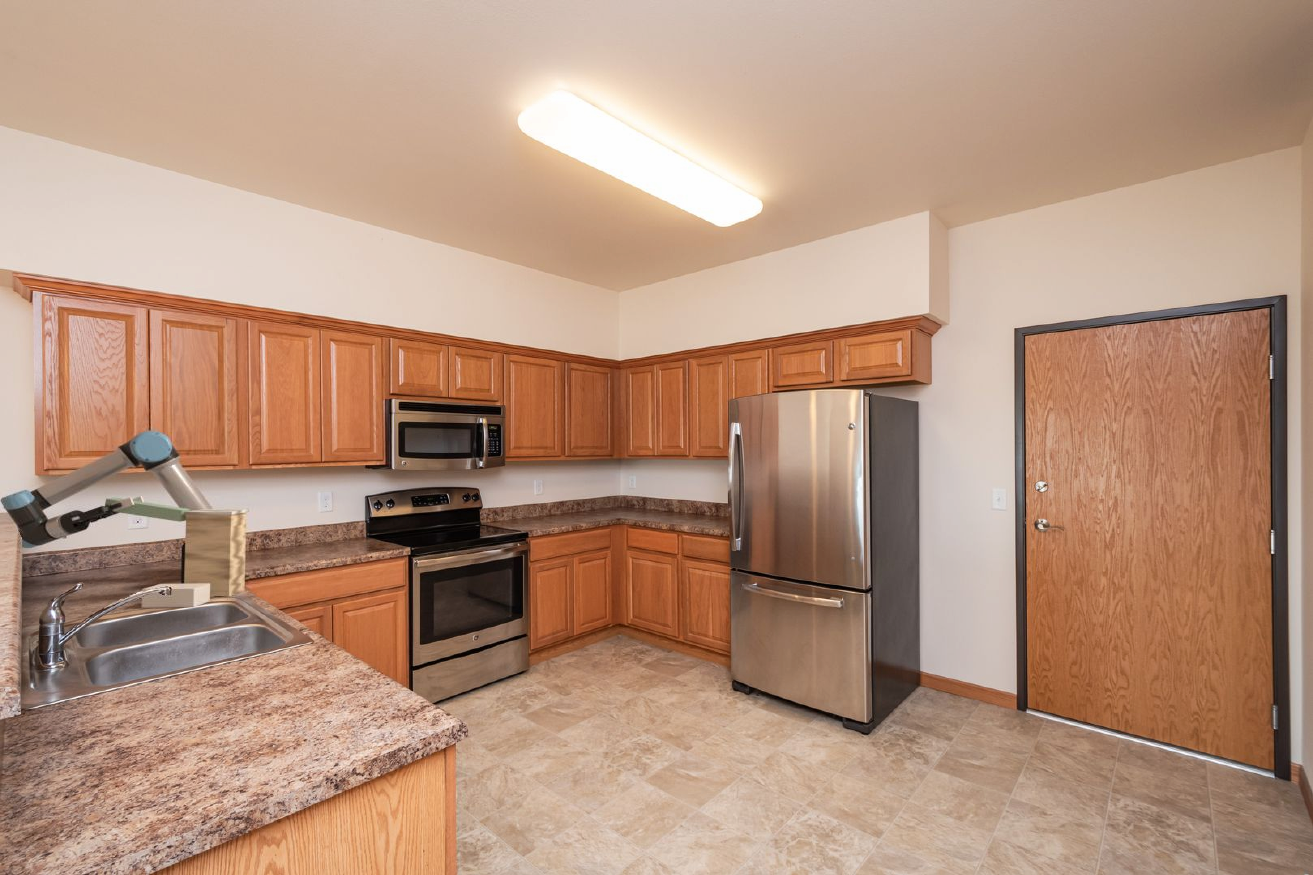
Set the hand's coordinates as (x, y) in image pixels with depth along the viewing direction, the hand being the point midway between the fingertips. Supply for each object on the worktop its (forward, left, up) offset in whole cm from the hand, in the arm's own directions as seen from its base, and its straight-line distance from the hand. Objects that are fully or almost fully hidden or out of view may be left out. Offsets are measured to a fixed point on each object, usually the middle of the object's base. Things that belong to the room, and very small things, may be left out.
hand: (137, 500), depth 208 cm
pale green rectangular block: (0, +3, -5) cm, 6 cm away
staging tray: (+11, +21, -34) cm, 41 cm away
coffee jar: (-17, +10, -34) cm, 39 cm away
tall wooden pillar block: (-3, +25, -34) cm, 42 cm away
